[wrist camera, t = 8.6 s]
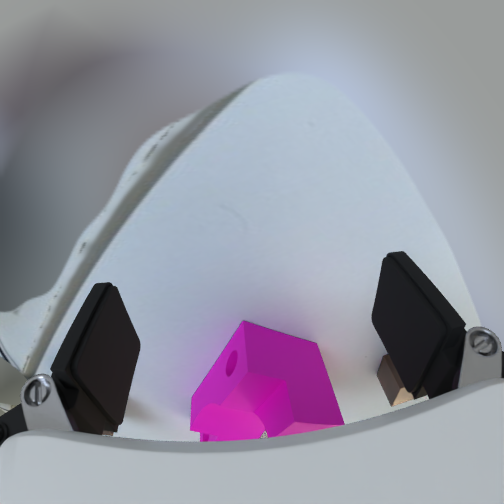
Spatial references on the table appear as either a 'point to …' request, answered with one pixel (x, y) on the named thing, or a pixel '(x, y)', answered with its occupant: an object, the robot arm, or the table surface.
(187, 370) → the table surface
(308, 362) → the toy block
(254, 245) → the table surface
